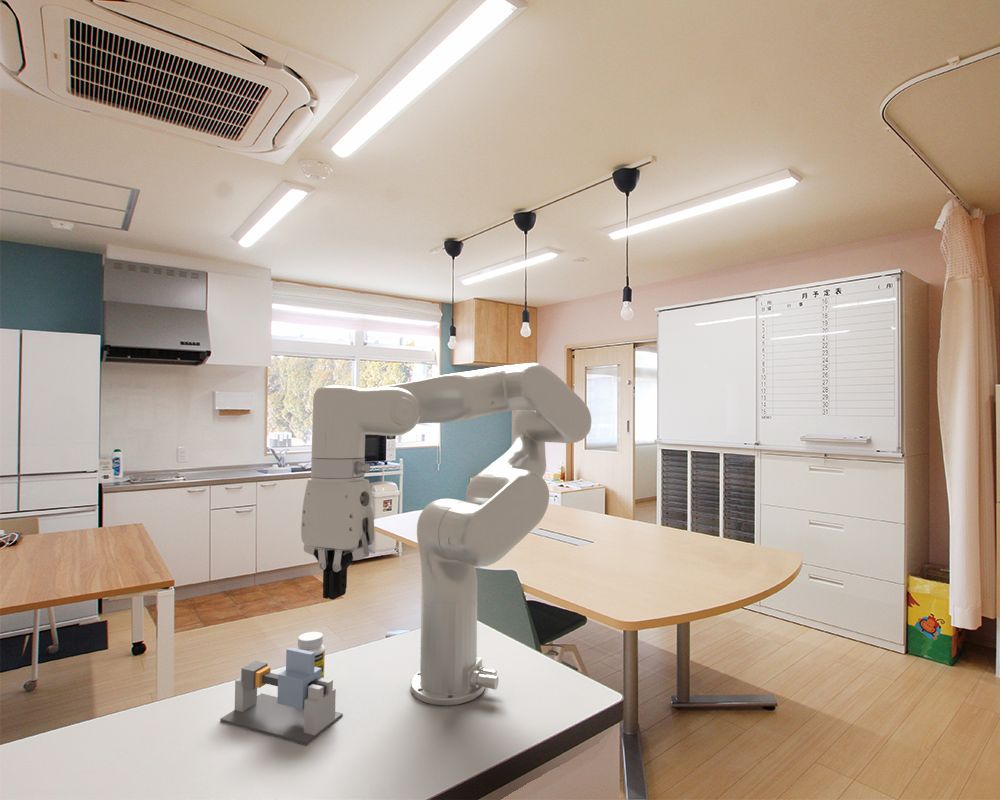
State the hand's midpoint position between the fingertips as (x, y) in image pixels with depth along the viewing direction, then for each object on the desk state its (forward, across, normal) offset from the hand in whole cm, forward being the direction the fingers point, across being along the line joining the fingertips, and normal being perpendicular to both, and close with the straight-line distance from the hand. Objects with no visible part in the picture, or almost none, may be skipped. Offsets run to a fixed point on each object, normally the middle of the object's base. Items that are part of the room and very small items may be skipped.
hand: (334, 596), depth 78 cm
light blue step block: (+16, +6, 0) cm, 17 cm away
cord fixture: (+20, +9, 0) cm, 22 cm away
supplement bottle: (+20, +12, -10) cm, 25 cm away
